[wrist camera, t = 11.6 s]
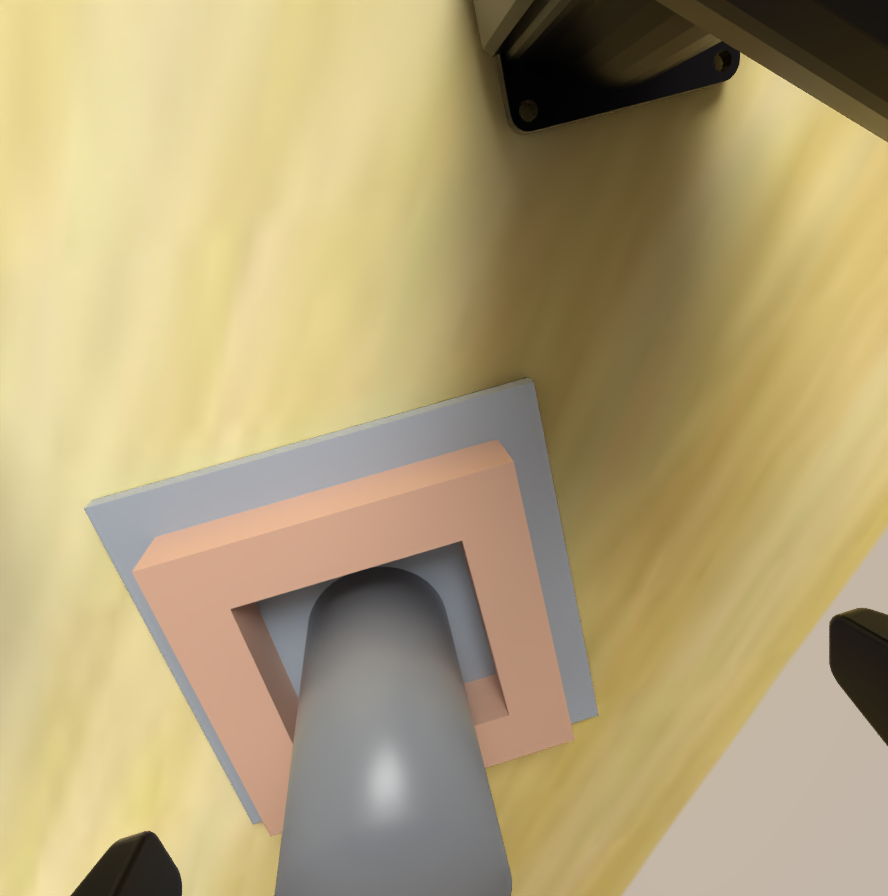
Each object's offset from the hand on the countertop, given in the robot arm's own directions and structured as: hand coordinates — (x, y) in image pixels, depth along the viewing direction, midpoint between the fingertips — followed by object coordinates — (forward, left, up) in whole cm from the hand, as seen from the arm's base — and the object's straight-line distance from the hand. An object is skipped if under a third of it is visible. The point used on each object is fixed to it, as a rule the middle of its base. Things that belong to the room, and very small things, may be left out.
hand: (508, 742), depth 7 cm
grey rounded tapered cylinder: (+3, +6, -11) cm, 13 cm away
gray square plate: (+3, +6, -12) cm, 14 cm away
